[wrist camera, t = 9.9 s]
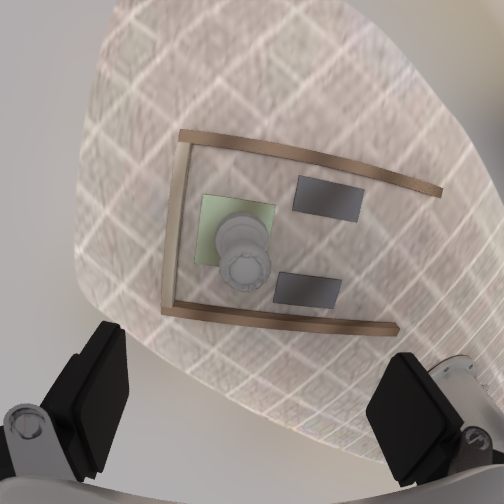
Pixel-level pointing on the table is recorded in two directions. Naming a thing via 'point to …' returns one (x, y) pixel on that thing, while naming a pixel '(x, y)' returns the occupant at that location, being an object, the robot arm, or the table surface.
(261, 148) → the wooden u-shaped frame
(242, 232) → the rook chess piece
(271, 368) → the table surface
